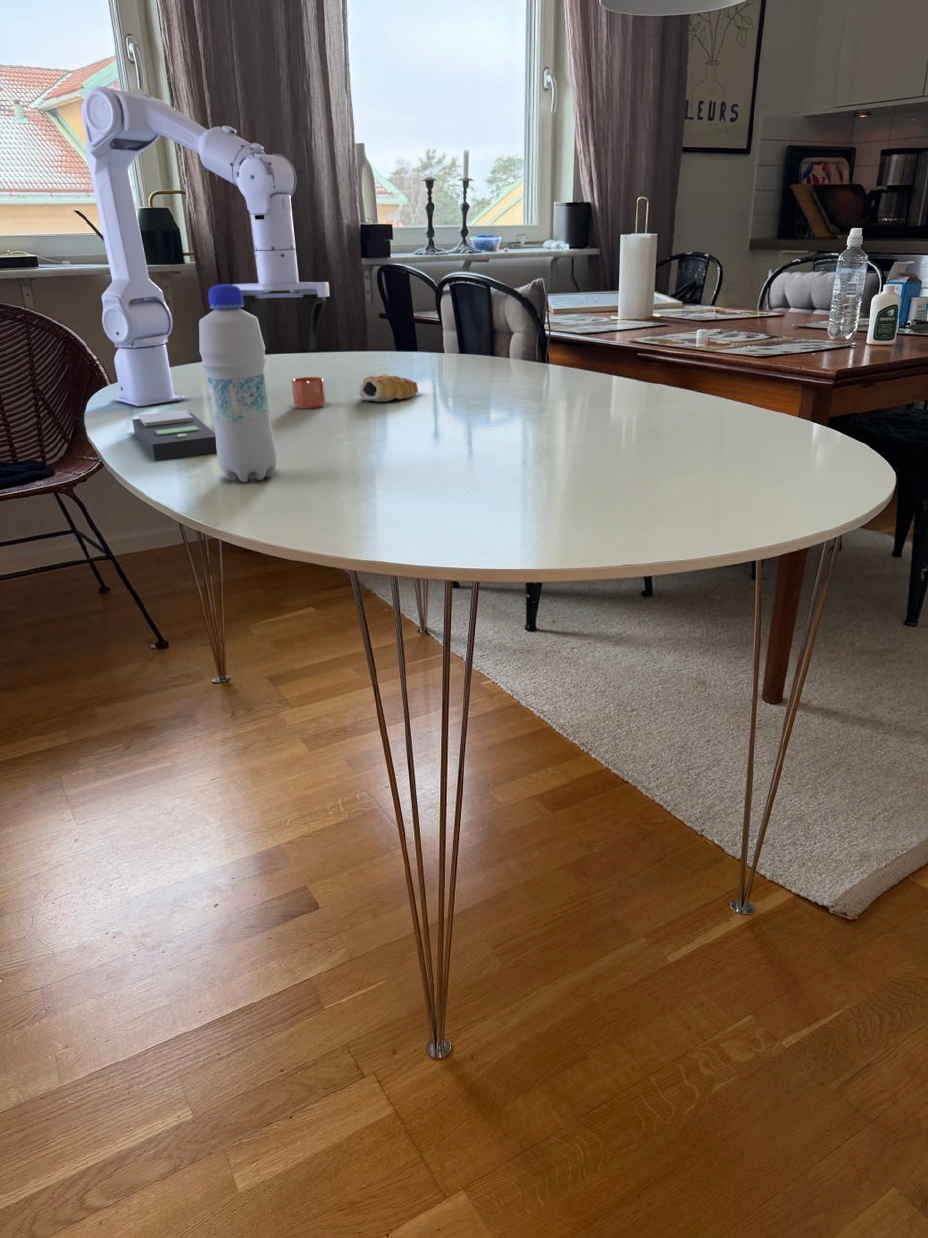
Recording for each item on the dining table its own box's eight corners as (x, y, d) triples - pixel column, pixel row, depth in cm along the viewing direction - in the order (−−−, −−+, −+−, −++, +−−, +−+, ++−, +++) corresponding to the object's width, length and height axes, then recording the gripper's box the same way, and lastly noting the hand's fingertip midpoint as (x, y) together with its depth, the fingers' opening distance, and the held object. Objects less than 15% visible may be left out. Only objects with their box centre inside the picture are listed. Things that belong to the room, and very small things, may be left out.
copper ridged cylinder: (288, 406, 133) (285, 380, 132) (314, 401, 136) (311, 375, 135) (305, 409, 130) (302, 383, 128) (331, 405, 133) (329, 378, 131)
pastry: (402, 391, 142) (400, 367, 141) (428, 396, 138) (427, 372, 136) (356, 399, 137) (354, 375, 135) (382, 405, 132) (380, 379, 130)
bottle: (228, 469, 98) (201, 282, 90) (286, 468, 98) (264, 281, 90) (211, 485, 92) (179, 286, 84) (272, 484, 92) (247, 284, 83)
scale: (134, 433, 118) (131, 415, 117) (193, 426, 121) (190, 408, 120) (155, 460, 103) (151, 440, 102) (221, 451, 106) (218, 431, 105)
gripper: (215, 252, 119) (229, 353, 125) (311, 249, 116) (321, 353, 122) (238, 250, 126) (251, 346, 131) (331, 247, 122) (339, 346, 128)
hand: (286, 349), depth 127 cm, fingers open, 7 cm apart
